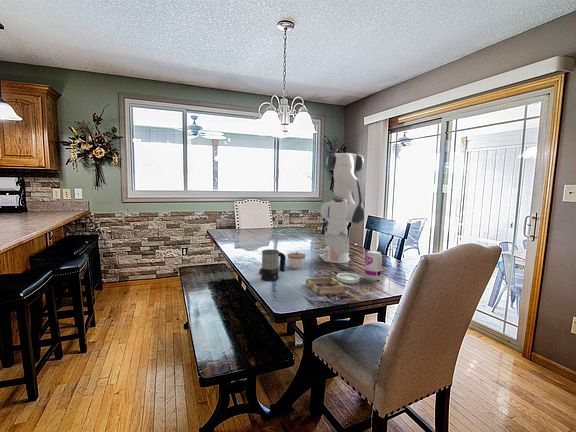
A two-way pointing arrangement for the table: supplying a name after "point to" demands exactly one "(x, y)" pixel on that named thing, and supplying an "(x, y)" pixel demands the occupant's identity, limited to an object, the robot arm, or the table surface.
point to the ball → (334, 256)
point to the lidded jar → (296, 260)
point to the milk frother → (271, 264)
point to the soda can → (373, 265)
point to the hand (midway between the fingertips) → (335, 257)
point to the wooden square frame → (325, 290)
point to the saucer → (348, 278)
